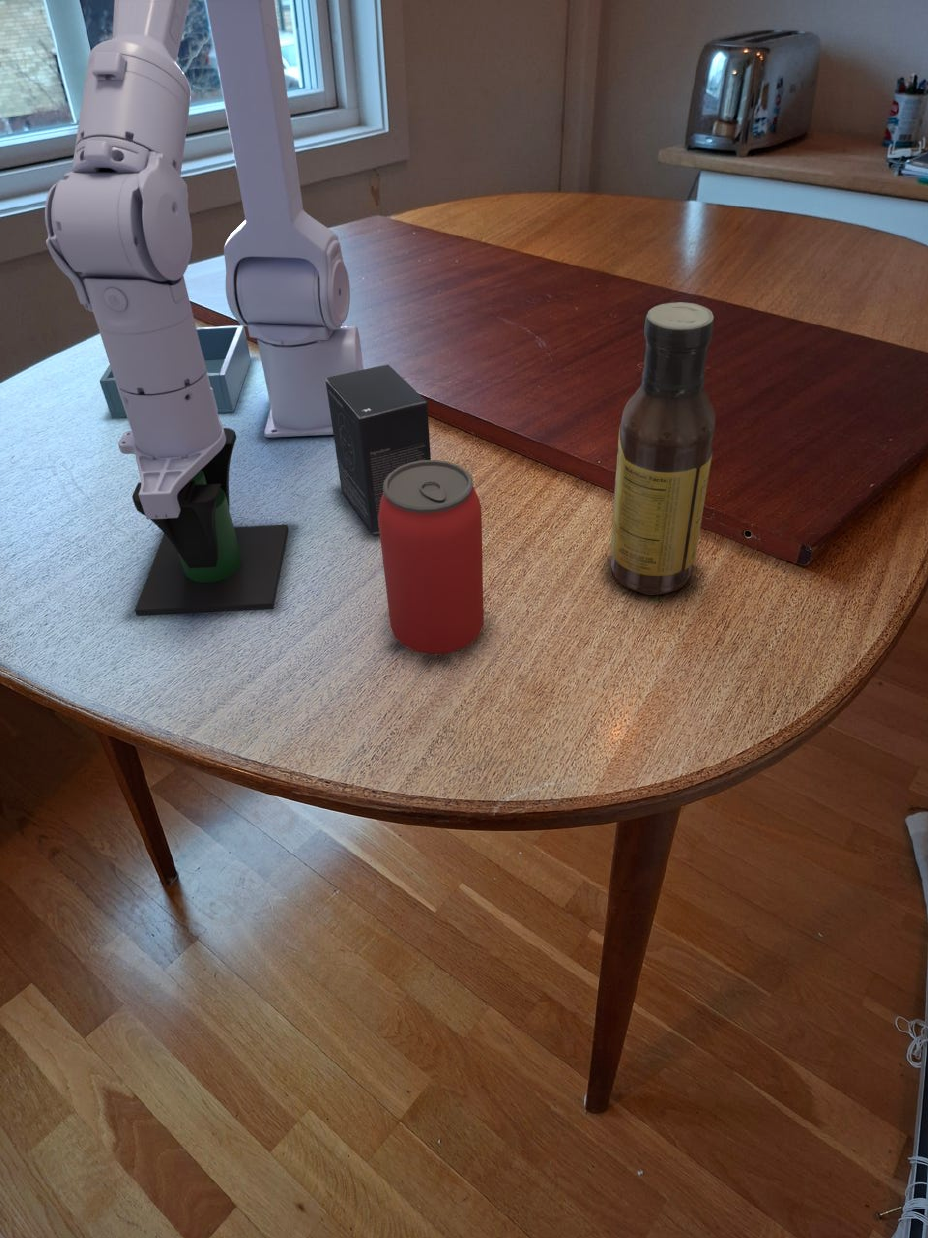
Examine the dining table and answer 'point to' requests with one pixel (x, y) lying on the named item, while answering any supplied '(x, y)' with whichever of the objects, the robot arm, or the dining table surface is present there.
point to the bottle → (226, 541)
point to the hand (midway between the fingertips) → (209, 544)
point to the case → (222, 362)
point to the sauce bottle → (664, 454)
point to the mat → (236, 592)
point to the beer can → (432, 556)
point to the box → (375, 433)
